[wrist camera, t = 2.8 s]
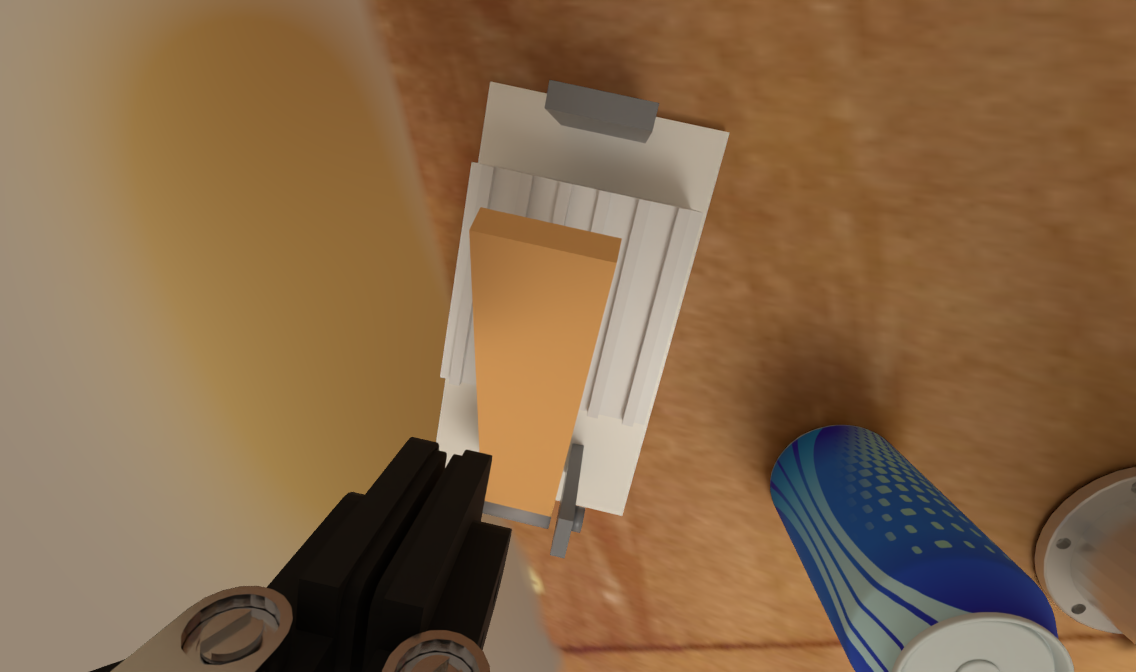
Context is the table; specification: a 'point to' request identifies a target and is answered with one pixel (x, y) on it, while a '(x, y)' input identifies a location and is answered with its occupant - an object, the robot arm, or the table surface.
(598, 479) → the heatsink base
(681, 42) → the table surface
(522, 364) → the orange rectangular bar
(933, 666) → the beer can
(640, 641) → the table surface
